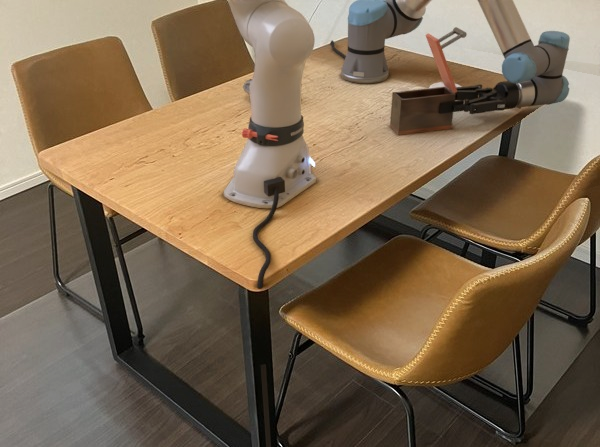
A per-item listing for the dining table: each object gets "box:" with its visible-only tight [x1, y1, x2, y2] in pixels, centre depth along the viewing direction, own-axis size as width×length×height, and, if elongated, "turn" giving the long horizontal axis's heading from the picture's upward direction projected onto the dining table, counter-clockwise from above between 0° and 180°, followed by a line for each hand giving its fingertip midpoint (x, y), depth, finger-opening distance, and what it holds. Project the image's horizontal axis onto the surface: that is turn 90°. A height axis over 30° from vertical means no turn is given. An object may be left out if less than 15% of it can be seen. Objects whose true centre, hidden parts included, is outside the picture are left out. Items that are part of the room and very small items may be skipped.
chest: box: [389, 87, 456, 136], centre depth 163 cm, size 15×6×10 cm, turn 105°
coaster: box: [428, 81, 463, 101], centre depth 182 cm, size 10×10×4 cm
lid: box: [425, 26, 468, 93], centre depth 157 cm, size 16×6×8 cm
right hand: (434, 103), depth 163 cm, fingers closed on chest, 6 cm apart
